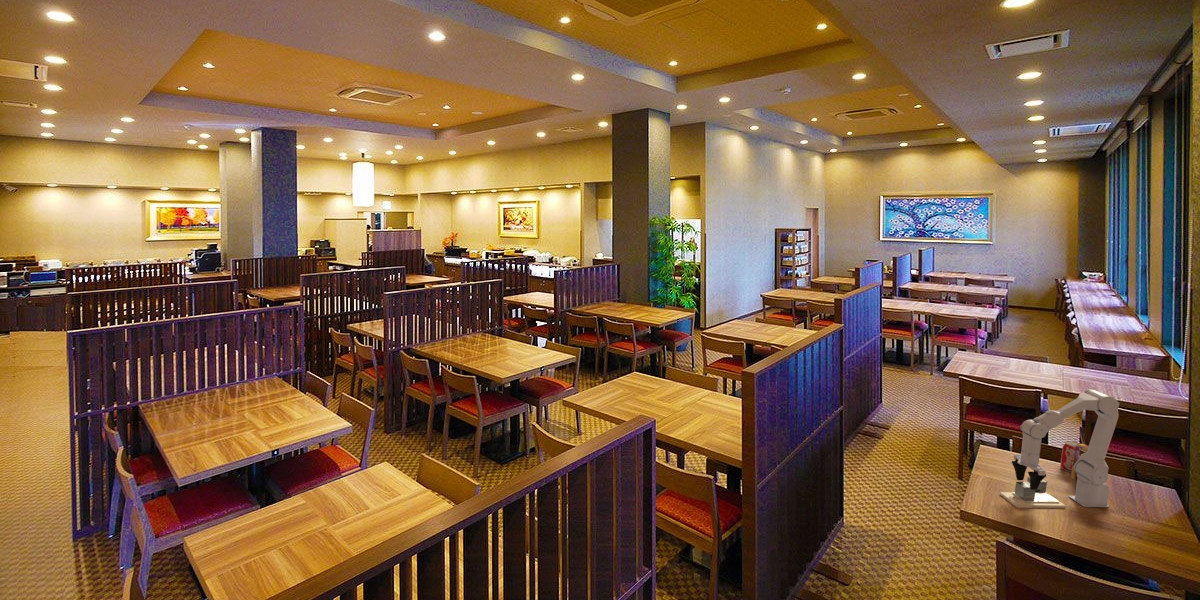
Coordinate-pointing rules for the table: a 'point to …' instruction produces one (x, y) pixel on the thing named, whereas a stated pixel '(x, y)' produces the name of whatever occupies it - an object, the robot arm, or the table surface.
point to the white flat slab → (1039, 498)
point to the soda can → (1068, 455)
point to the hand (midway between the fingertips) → (1026, 484)
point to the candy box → (1079, 451)
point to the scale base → (1021, 504)
